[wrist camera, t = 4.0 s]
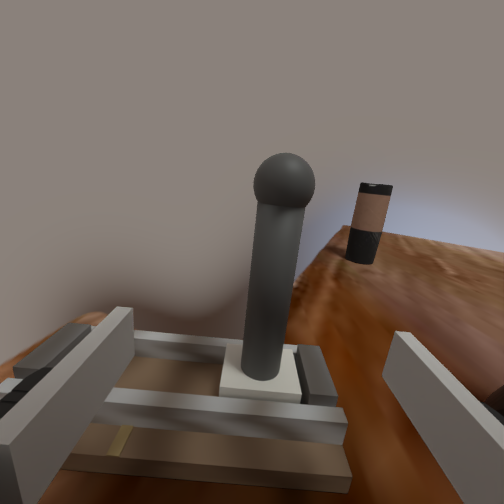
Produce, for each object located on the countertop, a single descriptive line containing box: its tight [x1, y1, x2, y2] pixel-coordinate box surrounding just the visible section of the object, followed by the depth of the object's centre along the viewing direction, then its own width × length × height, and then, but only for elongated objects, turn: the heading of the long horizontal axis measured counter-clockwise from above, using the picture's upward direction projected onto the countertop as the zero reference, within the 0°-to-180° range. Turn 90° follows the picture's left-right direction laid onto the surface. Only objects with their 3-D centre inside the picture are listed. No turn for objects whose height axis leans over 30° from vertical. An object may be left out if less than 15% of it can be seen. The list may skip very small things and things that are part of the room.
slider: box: [219, 153, 315, 404], centre depth 19 cm, size 6×5×19 cm
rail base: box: [0, 323, 352, 493], centre depth 21 cm, size 24×12×4 cm, turn 89°
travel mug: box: [346, 183, 393, 264], centre depth 66 cm, size 8×8×20 cm
